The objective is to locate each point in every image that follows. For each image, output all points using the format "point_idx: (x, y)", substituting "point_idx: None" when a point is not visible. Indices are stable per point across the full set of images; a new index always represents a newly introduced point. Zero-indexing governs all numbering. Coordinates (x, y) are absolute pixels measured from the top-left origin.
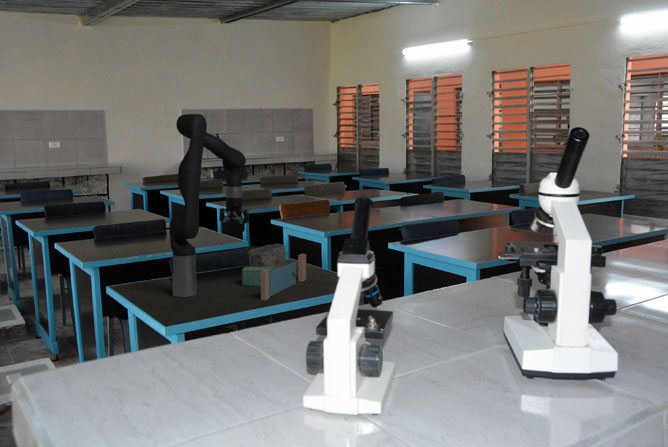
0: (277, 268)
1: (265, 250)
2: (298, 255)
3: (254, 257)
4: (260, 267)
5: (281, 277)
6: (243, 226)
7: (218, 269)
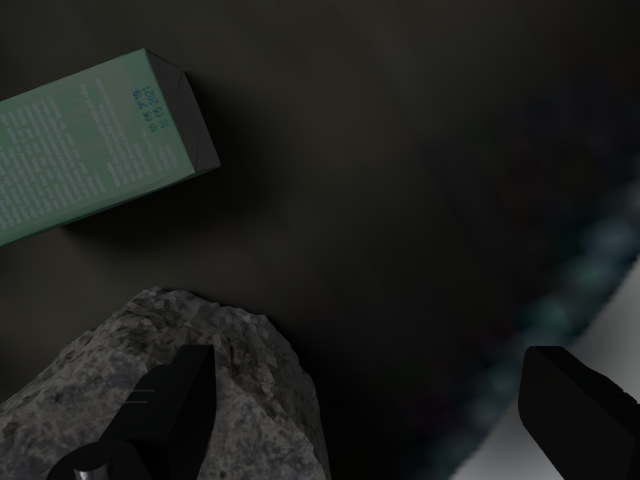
0: (62, 355)
1: None
2: None
3: None
4: (66, 194)
5: None
6: (112, 431)
7: None
